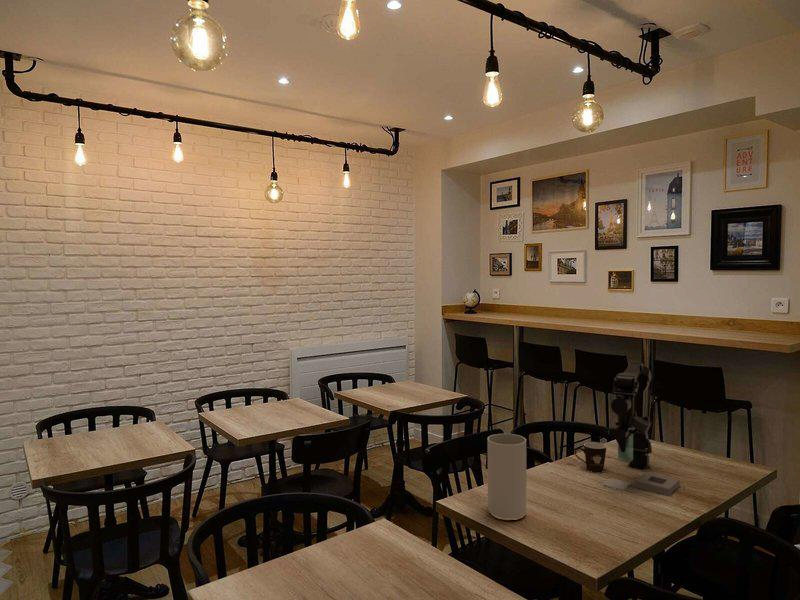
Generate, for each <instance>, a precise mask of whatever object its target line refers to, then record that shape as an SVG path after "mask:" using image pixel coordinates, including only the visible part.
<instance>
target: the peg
mask: <svg viewBox="0 0 800 600" xmlns="http://www.w3.org/2000/svg"><path fill="white" fill-rule="evenodd" d="M629 435H631V436H630V437H629V438H627V443H626V449H625V452H622V451H621V449H620V447H619V445H618V444H617V447H618V448H617V452H618V453H617V456H618V457H617V461H619V462H624V463H630V462H631V461H632V460H633V433H629Z"/></svg>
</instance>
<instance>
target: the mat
mask: <svg viewBox="0 0 800 600" xmlns="http://www.w3.org/2000/svg"><path fill="white" fill-rule="evenodd" d="M602 485H605V486H604V487H606V486H608V487H607V488H610V487H612V488H611V489H614V488H616V489H615V490H618V489H620V490H619V491H621V490H623V491H624V490H626V489H627V488H628V487H630V486H631V485H632V483H631V482H628V481H624V480H620V479H616V478H615V479H614V478H611V477H609V478H608V479H606V480H605V481H603V482H602V483H600V486H602ZM629 485H630V486H629ZM626 487H627V488H626ZM625 488H626V489H625Z"/></svg>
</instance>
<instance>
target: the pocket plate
mask: <svg viewBox="0 0 800 600" xmlns="http://www.w3.org/2000/svg"><path fill="white" fill-rule="evenodd" d="M633 482H634V488H635V487H636V488H635V489H639V488H640V489H639V490H643V491H648V492H652V493H655V494H659V495H664V496H668V497H670V496H671V495H672V494H673V493H674V492H676V490H677V489H679V487H680V485H681V479H679V478H675V477H671V476H670V477H669V476H666V475H661V474H657V473H652V472H647V471H646V472H644V473H643V474H642V475H640V476H638V477H637V478H636V479H634V481H633Z"/></svg>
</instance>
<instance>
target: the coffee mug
mask: <svg viewBox="0 0 800 600" xmlns="http://www.w3.org/2000/svg"><path fill="white" fill-rule="evenodd" d="M607 447H608V446H607V445H606V444H605V443H601V442H595V441H589V442H585V443H583V448H582V447H576V448H575V450H574V455H575V457H576V458H577V459H578V460H580V461H581V462H583V463H585V465H586V466H585V467H586V470H587V471H588V470H589V471H588V472H590V471H592V472H591V473H594V472H600V473H603V472H604V471H603V470H604V468H605V463H606V453H607ZM579 450H581V451H582V452H583V453H584V458H585V460H584V459H582V458H581V457H579V456H578V454H577V451H579ZM602 471H603V472H602Z"/></svg>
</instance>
